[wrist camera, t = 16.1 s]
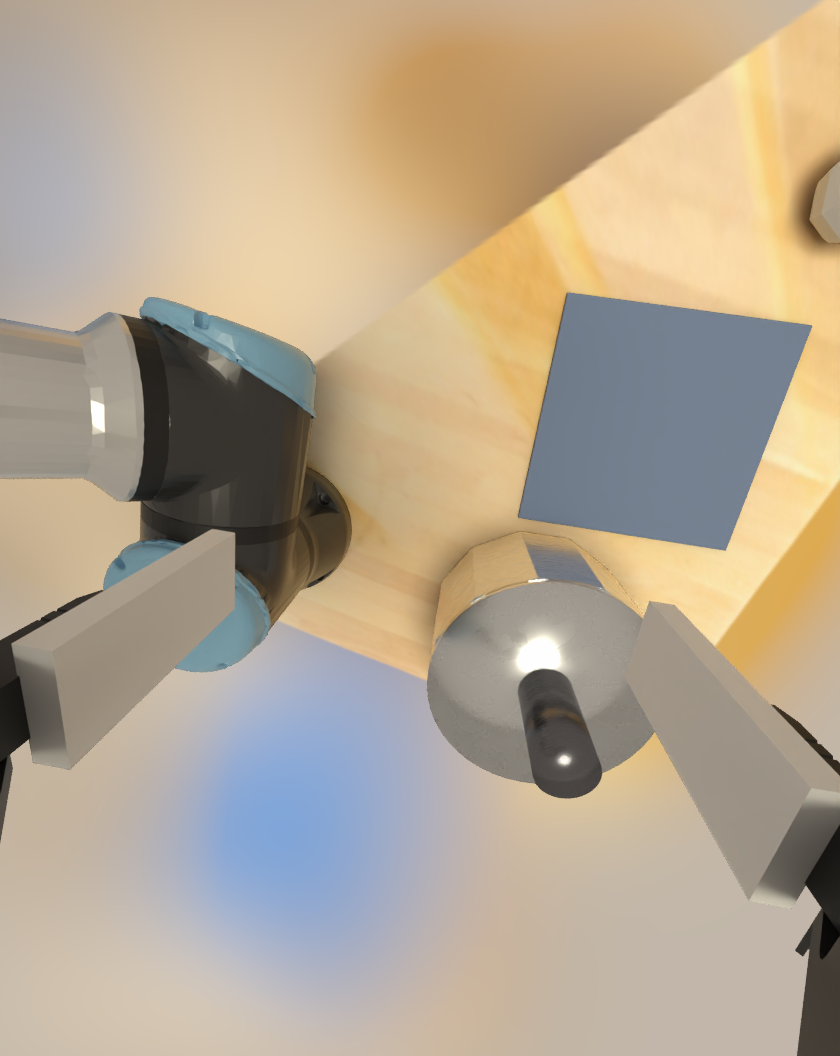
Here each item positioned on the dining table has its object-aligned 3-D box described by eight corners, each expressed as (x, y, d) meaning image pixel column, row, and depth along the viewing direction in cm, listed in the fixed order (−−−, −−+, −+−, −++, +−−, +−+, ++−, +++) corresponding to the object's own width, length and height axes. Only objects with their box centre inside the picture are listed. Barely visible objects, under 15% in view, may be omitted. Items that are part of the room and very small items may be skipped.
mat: (518, 516, 50) (518, 517, 50) (566, 293, 43) (568, 292, 43) (722, 548, 49) (725, 550, 49) (807, 326, 42) (812, 325, 42)
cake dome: (424, 676, 58) (401, 849, 36) (450, 518, 51) (441, 616, 29) (591, 705, 57) (670, 902, 35) (641, 548, 50) (778, 673, 29)
